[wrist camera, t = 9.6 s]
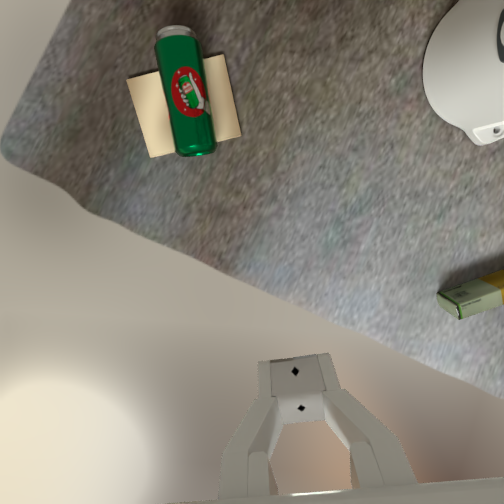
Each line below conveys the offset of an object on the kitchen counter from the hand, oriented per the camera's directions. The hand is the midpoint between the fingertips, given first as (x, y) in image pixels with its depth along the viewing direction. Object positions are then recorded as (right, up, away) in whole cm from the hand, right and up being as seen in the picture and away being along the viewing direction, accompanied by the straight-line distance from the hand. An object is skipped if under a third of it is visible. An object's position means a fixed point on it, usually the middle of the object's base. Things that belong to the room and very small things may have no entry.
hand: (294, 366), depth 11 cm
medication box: (+32, 0, +29) cm, 43 cm away
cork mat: (-10, +23, +22) cm, 33 cm away
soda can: (-8, +16, +21) cm, 28 cm away
